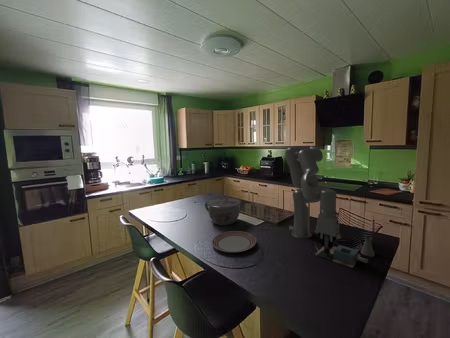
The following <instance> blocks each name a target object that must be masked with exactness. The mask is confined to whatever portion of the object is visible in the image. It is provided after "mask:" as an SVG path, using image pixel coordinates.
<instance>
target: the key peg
mask: <svg viewBox="0 0 450 338" xmlns="http://www.w3.org/2000/svg"><path fill="white" fill-rule="evenodd" d="M329 241H330V236H329V235H325V234H324V253H325V254H330V249H329Z"/></svg>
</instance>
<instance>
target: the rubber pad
mask: <svg viewBox="0 0 450 338" xmlns="http://www.w3.org/2000/svg"><path fill="white" fill-rule="evenodd" d="M316 257H319V258H322V259H324V260H328V261H331V262H332V259H333V254H332V253H330V254H325V253H324V251H323V250H322V251H321V252H320V253H319V254H318V255H316Z"/></svg>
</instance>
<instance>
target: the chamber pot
mask: <svg viewBox="0 0 450 338" xmlns="http://www.w3.org/2000/svg"><path fill="white" fill-rule="evenodd" d="M204 203H205V204H204V207H205V210H206V211H207V213H208V216H209V217H210V219H211V221H212V222H213V223H214V224H215V225H217V226H223V225H225V226H230V225H233V224H235V223H236V221H237V220H238V218H239V216H240V205H241V204H242V201H241V200H240V199H238V198H234V197H226V196H225V197H224V196H223V197H217V198H212V199H210V200H209V199H208V200H206V201H205V202H204Z"/></svg>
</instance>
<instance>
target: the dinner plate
mask: <svg viewBox="0 0 450 338" xmlns="http://www.w3.org/2000/svg"><path fill="white" fill-rule="evenodd" d="M256 244H257V238H256V237H255V235H253V234H251V233H249V232H245V231H242V230H241V231H239V230H231V231H230V230H229V231H225V232H222V233H220V234H217V235H215V236H214V237H213V238H212V240H211V245H212V247H213V248H214V249H215V250H218V251H221V252H225V253H242V252H246V251H249V250H250V249H252V248H253V247H255V246H256Z"/></svg>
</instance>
